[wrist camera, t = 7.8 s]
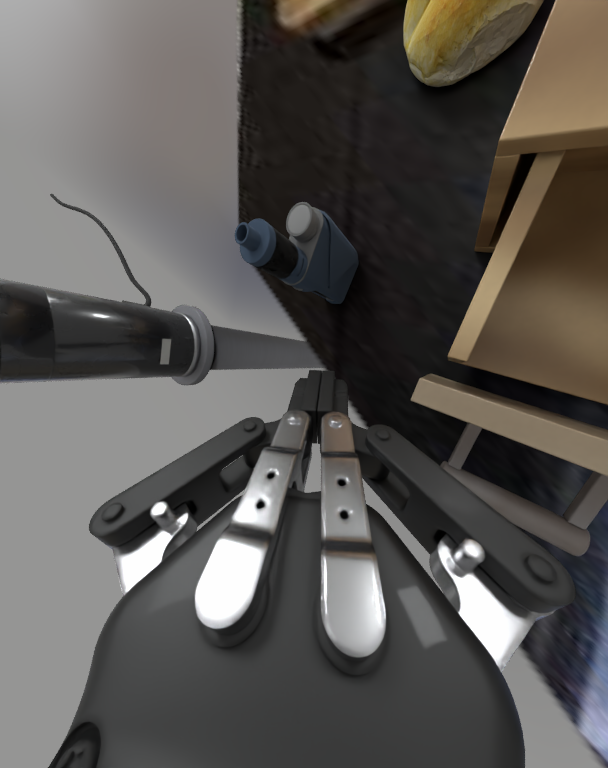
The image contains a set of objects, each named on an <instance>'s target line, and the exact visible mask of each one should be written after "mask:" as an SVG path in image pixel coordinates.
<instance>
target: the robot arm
mask: <svg viewBox="0 0 608 768" xmlns="http://www.w3.org/2000/svg"><path fill="white" fill-rule="evenodd" d="M50 195H51V197H52V198H53V199H54V200H55V201H56V202H57V203H59V204H60V205H62V206H64V207H67V208H69V209H72V210H76V211H79V212H81V213H83V214H86V215H87V216H89V217H90V218H92V219H93V220H94V221H95V222H97V223H98V225H99V226H100V227H101V228H102V229H103V230H104V232H105V233H106V235H107V236H108V237H109V239H110V241H111V242H112V244H113V246H114V248H115V250H116V251H117V253H118V255H119V257H120V259H121V262H122V264H123V266H124V269H125V271H126V273H127V275H128V276H129V278H130V280H131V282H132V283H133V284H134V285H135V286H136V287H137V288H138V289H139V291H140V292H141V293H142V294H143V295H144V296H145V298H146V304H144V305H142V304H137V303H132V302H127V301H122V302H119V301H114V300H108V299H103V298H98V297H92V296H88V295H82V294H77V293H72V292H67V291H62V290H56V289H51V288H46V287H41V286H35V285H30V284H25V283H20V282H15V281H9V280H4V279H0V383H22V382H46V381H67V380H68V381H70V380H95V379H121V378H147V377H187V376H189V375H191V374H192V373H193V372H194V370H195V369H196V367H197V365H198V362H199V359H200V354H201V338H200V333H199V329H198V327H197V325H196V323H195V321H194V320H193V319H192V317H190V316H189V315H187V314H184V313H178V312H170V311H164V310H159V309H155V308H151V307H150V306H151V298H150V296H149V295H148V293H147V292H146V291H145V290H144V289H143V288H142V287H141V286H140V285H139V284H138V283H137V281H136V280H135V278H134V277H133V275H132V273H131V271H130V269H129V267H128V265H127V263H126V260H125V258H124V256H123V254H122V252H121V250H120V248H119V246H118V245H117V243H116V242H115V240H114V238H113V237H112V235H111V234H110V232H109V231H108V230H107V228H106V227H105V226H104V225H103V224H102V223H101V222H100V221H99V220H98V219H97V218H96V217H95V216H93V215H92V214H90V213H89V212H87V211H85V210H82V209H80V208H77V207H73V206H70V205H67V204H64V203H62V202H61V201H59V200H58V199H57V198H56V197H55V196H54V195H53V194H50ZM317 436H318V444H320V453H321V491H319V492H312V493H304V488H305V483H306V479H307V474H308V470H309V465H310V461H311V456H312V452H311V447H312V443H317ZM242 455H243V456H242ZM240 456H241V457H240ZM239 457H240V458H239ZM238 458H239V459H238ZM236 459H237V460H236ZM235 460H236V461H235ZM233 461H234V462H233ZM232 462H233V463H232ZM230 463H231V464H230ZM229 464H230V465H229ZM227 465H229V466H227ZM226 466H227V467H226ZM225 467H226V468H225ZM223 468H224V469H223ZM222 469H223V470H222ZM362 478H363V479H364V480H365V482H366V483H367V484H368V485H369V486H370V487H371V488H372V489H373V491H374V492H375V493H376V494H377V495H378V496H379V497H380V498H381V500H382V501H383V502H384V503H385V504H386V505H387V506H388V507H389V509H390V510H391V511H392V512H393V513H394V514H395V515H396V517H397V518H398V519H399V520H400V521H401V522H402V523H403V524H404V526H405V527H406V528H407V529H408V530H409V531H410V532H411V534H412V535H413V536H414V537H415V538H416V539H417V540H418V541H419V543H420V544H421V545H422V546H423V547H424V548H425V549H426V550H427V552H428V553H429V554H430V568H431V571H432V574H433V576H434V578H435V580H436V581H437V583H438V584H439V586H440V587H441V589H442V591H443V593H444V594H443V593H442V591H441V590H440V589H439V588H438V586H437V585H436V584H435V582H434V581H433V580H432V579H431V577H430V576H429V575H428V574H427V572H426V571H425V570H424V568H423V567H422V566H421V565H420V563H419V562H418V561H417V560H416V558H415V557H414V556H413V554H412V553H411V552H410V551H409V550H408V548H407V547H406V546H405V544H404V543H403V542H402V541H401V539H400V538H399V537H398V535H397V534H396V533H395V532H394V530H393V529H392V528H391V527H390V525H389V524H388V523H387V522H386V521H385V519H384V518H383V517H382V516H381V515H380V514H379V513H378V512H377V511H376V510H374V509H373V508H372V507H370V506H369V505H367V504H366V501H365V495H364V488H363V482H362ZM244 489H245V491H244V493H243V495H242V496H240V497H238V498H237V499H235V500H234V501H232V502H231V503H230V504H229V505H228V506H226V507H225V508H224V509H223V510H222V511H221V512H220V513H218V514H217V515H216V516H215V517H213V518H212V519H211V520H210V521H209V522H208V523H206V524H205V525H204V526H203V527H202V528H201V529H199V530H198V531H197V532H196V530H197V527H198V526H199V525H200V524H201V523H203V522H204V521H205V520H206V519H208V518H209V517H210V516H212V515H213V514H214V513H215V512H217V511H218V510H219V509H220V508H222V507H223V506H224V505H225V504H226V503H228V502H229V501H230V500H232V499H233V498H234V497H235V496H236V495H238V494H239V493H240V492H242V491H243V490H244ZM89 531H90V533H91V534H92V535H94V536H95V537H97V538H98V539H99V540H101V541H102V542H103V543H105V544H106V545H107V546H109V547H110V548H111V549H113V553H114V557H115V562H116V566H117V570H118V575H119V579H120V584H121V588H122V592H123V597H122V599H121V600H120V601H119V602H118V604H117V605H116V607H115V608H114V609H113V611H112V613H111V614H110V616H109V618H108V619H107V621H106V623H105V625H104V627H103V629H102V631H101V634H100V636H99V639H98V641H97V644H96V647H95V651H94V655H93V660H92V664H91V668H90V673H89V676H88V680H87V683H86V687H85V690H84V693H83V696H82V699H81V702H80V705H79V707H78V710H77V712H76V715H75V717H74V720H73V722H72V725H71V727H70V730H69V732H68V734H67V736H66V738H65V740H64V742H63V744H62V746H61V747H60V749H59V751H58V753H57V754H56V756H55V758H54V759H53V761H52V762H51V764H50V766H49V767H48V768H525V748H524V740H523V732H522V728H521V723H520V719H519V715H518V712H517V709H516V706H515V703H514V699H513V697H512V694H511V692H510V689H509V687H508V685H507V683H506V681H505V679H504V677H503V675H502V671H503V669H504V668H505V666H506V665H507V663H508V662H509V660H510V659H511V657H512V656H513V654H514V653H515V651H516V650H517V648H518V647H519V645H520V643H521V642H522V640H523V639H524V637H525V636H526V634H527V633H528V631H529V630H530V628H531V627H532V625H533V624H534V622H535V621H536V620H538V619H541V618H543V617H546V616H548V615H551V614H552V613H554V612H555V610H557V609H559V608H561V607H564V606H566V605H569V604H571V603H572V602H573V601H574V599H575V596H576V589H575V586H574V583H573V580H572V578H571V577H570V575H569V573H568V572H567V570H566V569H565V568H564V566H563V565H562V564H561V563H560V562H559V561H558V560H557V559H556V558H555V557H554V556H553V555H551V554H550V553H549V552H548V551H547V550H545V549H544V548H543V547H541V546H540V545H539V544H538V543H536V542H535V541H534V540H533V539H531V538H530V537H529V536H528V535H526V534H525V533H524V532H523V531H521V530H520V529H519V528H518V527H516V526H515V525H514V524H512V523H511V522H510V521H509V520H507V519H506V518H505V517H504V516H502V515H501V514H500V513H499V512H497V511H496V510H495V509H494V508H492V507H491V506H490V505H488V504H487V503H486V502H485V501H483V500H482V499H481V498H480V497H478V496H477V495H476V494H475V493H473V492H472V491H471V490H470V489H468V488H467V487H466V486H465V485H463V484H462V483H461V482H459V481H458V480H457V479H456V478H454V477H453V476H452V475H451V474H449V473H448V472H447V471H446V470H444V469H443V468H442V467H441V466H439V465H438V464H437V463H436V462H434V461H433V460H432V459H430V458H429V457H428V456H427V455H425V454H424V453H423V452H422V451H420V450H419V449H418V448H417V447H415V446H414V445H413V444H412V443H410V442H409V441H408V440H406V439H405V438H404V437H403V436H401V435H400V434H399V433H398V432H396V431H395V430H394V429H392V428H391V427H389V426H386V425H373V426H371V427H370V428H369V429H368V430H367V429H364V428H361V427H358V426H356V425H354V424H353V423H352V422H351V421H350V418H349V417H348V393H347V384H346V383H345V381H344V380H336V379H335V371H317V370H310V371H309V374H308V378H300V379H299V380H298V381H297V382H296V383H295V387H294V390H293V395H292V397H291V400H290V404H289V408H288V411H287V412H286V413H285V414H284V415H283V417H282V418H281V419H280V420H278V421H275V422H270V423H264V422H263V420H261V419H260V418H256V417H251V418H246V419H244V420H242V421H240V422H239V423H237V424H235V425H234V426H232V427H230V428H229V429H227V430H225V431H224V432H222V433H220V434H219V435H217V436H215V437H214V438H212V439H210V440H209V441H207V442H205V443H204V444H202V445H200V446H199V447H197V448H195V449H194V450H192V451H190V452H189V453H187V454H185V455H184V456H182V457H180V458H179V459H177V460H175V461H174V462H172V463H170V464H169V465H167V466H165V467H164V468H162V469H160V470H159V471H157V472H155V473H153V474H152V475H150V476H148V477H147V478H145V479H144V480H142V481H140V482H139V483H137V484H135V485H133V486H132V487H130V488H128V489H127V490H125V491H123V492H122V493H120V494H119V495H117V496H115V497H113V498H112V499H110V500H109V501H108V502H106V503H104V504H103V505H102V506H101V507H100V508H99V509H98V510H97V511H96V512H95V514H94V515H93V517H92V519H91V521H90V524H89Z"/></svg>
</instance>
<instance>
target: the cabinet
mask: <svg viewBox="0 0 608 768" xmlns="http://www.w3.org/2000/svg"><path fill="white" fill-rule="evenodd" d="M601 146H608V0H555V3H554V5H553V8H552V10H551V13H550V15H549V18H548V20H547V23H546V25H545V27H544V30H543V32H542V35H541V37H540V40H539V42H538V45H537V47H536V50H535V52H534V55H533V57H532V60H531V62H530V65H529V67H528V70H527V72H526V74H525V77H524V79H523V82H522V84H521V87H520V89H519V92H518V94H517V97H516V99H515V102H514V104H513V107H512V109H511V112H510V114H509V117H508V119H507V122H506V124H505V126H504V129H503V131H502V134H501V136H500V139H499V142H498V147H497V151H496V156H495V159H494V164H493V168H492V173H491V177H490V182H489V186H488V191H487V195H486V200H485V204H484V209H483V213H482V217H481V222H480V226H479V231H478V235H477V240H476V244H475V249H474V251H476V252H490V253H493V252H494V250H495V248H496V246H497V243H498V241H499V239H500V237H501V234H502V232H503V230H504V228H505V225H506V223H507V221H508V219H509V216H510V214H511V212H512V210H513V207H514V205H515V203H516V201H517V198H518V196H519V194H520V192H521V189H522V187H523V185H524V183H525V180H526V178H527V176H528V174H529V171H530V169H531V167H532V165H533V162H534V160H535V158H536V156H537V153H538V152H548V151H559V150H569V149H580V148H590V147H601Z"/></svg>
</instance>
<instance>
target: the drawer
mask: <svg viewBox="0 0 608 768" xmlns="http://www.w3.org/2000/svg"><path fill="white" fill-rule="evenodd" d="M448 360H449V361H453V362H457V363H460V364H464V365H467V366H471V367H474V368H478V369H481V370H485V371H488V372H492V373H496V374H499V375H503V376H506V377H510V378H513V379H517V380H520V381H524V382H528V383H531V384H535V385H538V386H542V387H545V388H549V389H552V390H556V391H559V392H563V393H567V394H570V395H574V396H577V397H581V398H584V399H588V400H591V401H595V402H599V403H602V404H606V405H608V146H601V147H590V148H580V149H569V150H559V151H548V152H538V153H537V156H536V158H535V160H534V162H533V165H532V167H531V169H530V171H529V174H528V176H527V178H526V180H525V183H524V185H523V187H522V189H521V192H520V194H519V196H518V198H517V201H516V203H515V205H514V207H513V210H512V212H511V214H510V216H509V219H508V221H507V223H506V225H505V228H504V230H503V232H502V234H501V237H500V239H499V241H498V243H497V246H496V248H495V250H494V252H493V255H492V257H491V259H490V261H489V264H488V266H487V268H486V270H485V273H484V275H483V277H482V279H481V282H480V284H479V286H478V288H477V291H476V293H475V295H474V297H473V300H472V302H471V304H470V306H469V309H468V311H467V313H466V315H465V318H464V320H463V322H462V324H461V327H460V329H459V331H458V333H457V336H456V338H455V340H454V342H453V345H452V347H451V349H450V351H449V354H448ZM411 401H413V402H416V403H418V404H421V405H424V406H426V407H429V408H431V409H434V410H437V411H439V412H442V413H444V414H447V415H449V416H452V417H455V418H457V419H460V420H462V421H465V422H468V423H467V425H466V427H465V429H464V431H463V433H462V435H461V437H460V439H459V441H458V443H457V445H456V447H455V449H454V451H453V452H452V454H451V456H450V458H449V460H448V462H446V461H443V462H442V464H441V465H440V466H441V467H442V468H443V469H444V470H446V471H447V472H448V473H449V474H451V475H452V476H453V477H454V478H456V479H457V480H458V481H459V482H461V483H462V484H463V485H465V486H466V487H467V488H468V489H470V490H471V491H472V492H473V493H475V494H476V495H477V496H478V497H480V498H481V499H482V500H483V501H485V502H486V503H487V504H488V505H490V506H491V507H492V508H494V509H495V510H496V511H497V512H499V513H500V514H501V515H502V516H504V517H505V518H506V519H507V520H509V521H510V522H511V523H513V524H515V525H517V526H518V527H520V528H522V529H524V530H526V531H528V532H530V533H532V534H534V535H535V536H537V537H539V538H541V539H543V540H545V541H547V542H549V543H551V544H553V545H554V546H556V547H558V548H560V549H562V550H564V551H566V552H568V553H570V554H572V555H574V556H581V555H583V554H584V553H585V552H586V551H587V549H588V547H589V544H590V534H589V532H588V530H587V529H586V528H587V527H588V526H589V524H590V523H591V522H592V520H593V519H594V517H595V516H596V515H597V513H598V512H599V511H600V509H601V508H602V507H603V505H604V504H605V503H606V501H607V500H608V430H607V429H604V428H601V427H597V426H594V425H591V424H588V423H585V422H582V421H579V420H575V419H572V418H569V417H566V416H563V415H560V414H557V413H553V412H550V411H547V410H544V409H541V408H538V407H535V406H531V405H528V404H525V403H522V402H519V401H516V400H512V399H509V398H506V397H503V396H500V395H497V394H494V393H490V392H487V391H484V390H481V389H478V388H475V387H472V386H468V385H465V384H462V383H459V382H456V381H453V380H449V379H446V378H443V377H440V376H437V375H434V374H429V375H426V376H424V377H422V378H420V379H419V381H418V383H417V386H416V388H415V390H414V393H413V395H412V398H411ZM482 428H483V429H486V430H488V431H491V432H494V433H496V434H499V435H501V436H504V437H507V438H509V439H512V440H514V441H517V442H519V443H522V444H525V445H527V446H530V447H532V448H535V449H538V450H540V451H543V452H545V453H548V454H551V455H553V456H556V457H558V458H561V459H564V460H566V461H569V462H571V463H574V464H577V465H579V466H582V467H584V468H587V469H589V470H592V471H593V473H592V474H591V476H590V477H589V478H588V480H587V481H586V483H585V484H584V486H583V487H582V488H581V490H580V491H579V493H578V494H577V496H576V497H575V498H574V500H573V501H572V503H571V504H570V506H569V507H568V509H567V510H566V511H565V513H564V514H563V516H564V517H565V518H564V517H562V516H560V515H558V514H556V513H554V512H552V511H549V510H547V509H545V508H543V507H541V506H539V505H537V504H535V503H533V502H531V501H528V500H526V499H524V498H522V497H520V496H518V495H516V494H514V493H512V492H509V491H507V490H505V489H503V488H501V487H499V486H497V485H495V484H493V483H491V482H488V481H486V480H484V479H482V478H480V477H478V476H476V475H474V474H472V473H470V472H467V471H465V470H463V469H461V467H462V465H463V463H464V461H465V460H466V458H467V456H468V454H469V452H470V450H471V448H472V446H473V444H474V442H475V440H476V439H477V437H478V435H479V433H480V431H481V429H482Z"/></svg>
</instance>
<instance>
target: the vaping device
mask: <svg viewBox="0 0 608 768" xmlns="http://www.w3.org/2000/svg"><path fill="white" fill-rule="evenodd" d="M286 228H287V231H288V233H289V234H290V237H289V240H288V239H287V238H286V237H285V236H283V235H282V234H281V233H279V232H278V231H277V230H276V229H274V228H273V227H272V226H271V225H269V224H268V223H267V222H266V221H264V220H262V219H255V220H252V221H251V222H250V223H249V224H246V223H244V222H243V223H240V224H239V225H238V227H237V228H236V231H235V240H236V242H237V243H238V244H240V252H241V255H242V258H243V259H244V260H245V261H246V262H247V263H249V264H251V265H253V266H255V267H257V268H259V269H261V270H263V271H265V272H267V273H269V274H271V275H273V276H275V277H277V278H279V279H280V280H282V281H283V282H285V283H286V284H288V285H291V286H293V288H295V289H297V290H300V291H305V292H307V291H311V292H313V293H315V294H317V295H319V296H321V297H322V298H325V299H326V300H327V301H328V302H330V303H333V304H341V303H342V302H343V301H344V299H345V296H346V294H347V291H348V289H349V287H350V284H351V282H352V279H353V277H354V274H355V272H356V270H357V267H358V264H359V260H358V254H357V252H356V250H355V249H354V247H353V246H352V245H351V243H350V242H349V241H348V240H347V238H346V237H345V236H344V235H343V233H342V232H341V231H340V230H339V228H338V227H337V226H336V225H335V223H334V222H333V221H332V220H331V218H330V217H329V216H328V215H327V214H326V213H325V212H323V211H321V210H318V209H317V208H314V207H311V206H310V205H309V204H308V203H306V202H300V203H297V204H296V205H295V206H294V207H293V208H292V209H291V210H290V212H289V214H288V217H287V220H286Z"/></svg>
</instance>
